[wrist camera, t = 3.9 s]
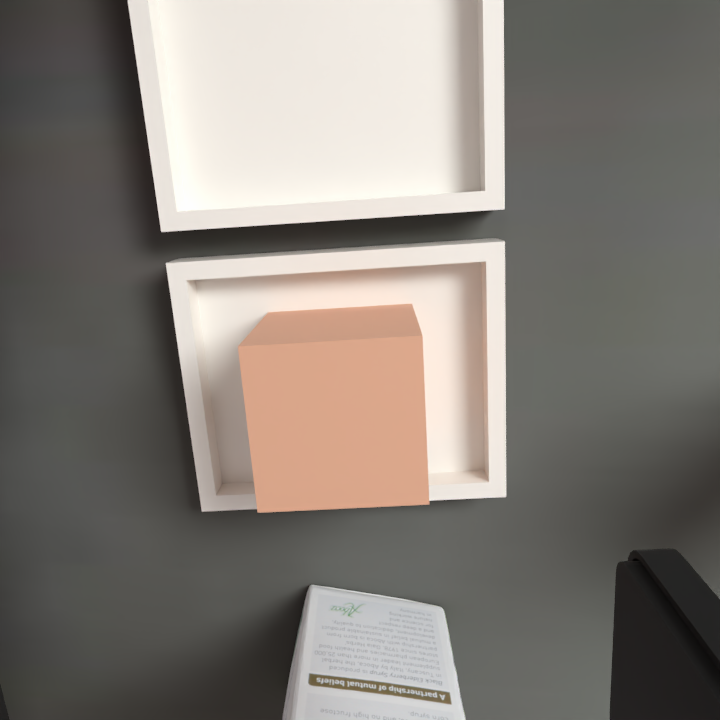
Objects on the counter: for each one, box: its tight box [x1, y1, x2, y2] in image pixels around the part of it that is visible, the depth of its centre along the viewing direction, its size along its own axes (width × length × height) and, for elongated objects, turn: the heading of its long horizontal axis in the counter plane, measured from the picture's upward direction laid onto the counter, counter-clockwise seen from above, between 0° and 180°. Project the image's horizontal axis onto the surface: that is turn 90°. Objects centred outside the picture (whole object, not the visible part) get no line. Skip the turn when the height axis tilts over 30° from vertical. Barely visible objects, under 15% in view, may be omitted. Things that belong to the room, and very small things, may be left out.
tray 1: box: [128, 0, 505, 232], centre depth 19 cm, size 9×11×2 cm
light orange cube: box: [238, 304, 429, 513], centre depth 20 cm, size 5×5×5 cm
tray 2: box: [166, 238, 506, 512], centre depth 22 cm, size 9×11×2 cm
